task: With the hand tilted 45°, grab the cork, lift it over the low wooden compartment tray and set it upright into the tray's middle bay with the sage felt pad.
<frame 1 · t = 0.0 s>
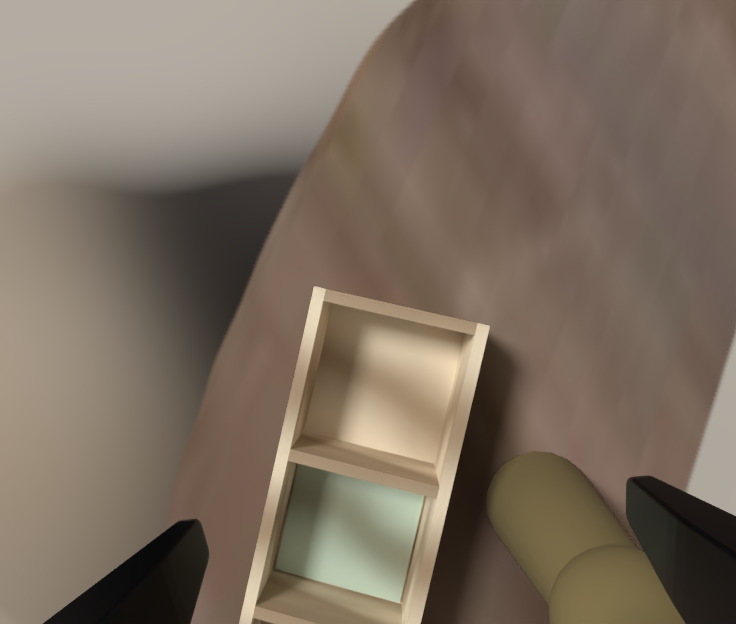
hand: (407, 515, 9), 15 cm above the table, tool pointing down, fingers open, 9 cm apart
cork: (538, 502, 24), on the table
wooden compartment tray: (353, 513, 24), on the table
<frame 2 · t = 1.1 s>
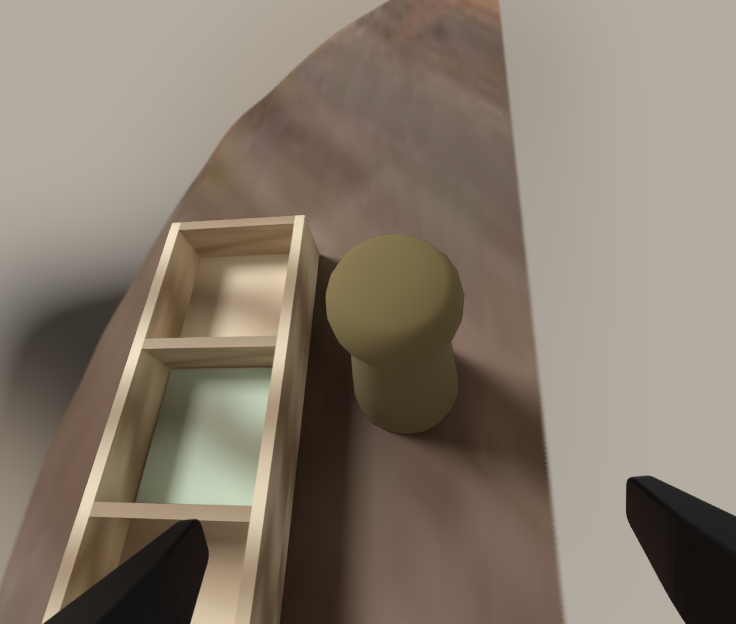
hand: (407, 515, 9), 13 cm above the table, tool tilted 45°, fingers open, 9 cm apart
cork: (405, 381, 24), on the table
wooden compartment tray: (225, 436, 24), on the table
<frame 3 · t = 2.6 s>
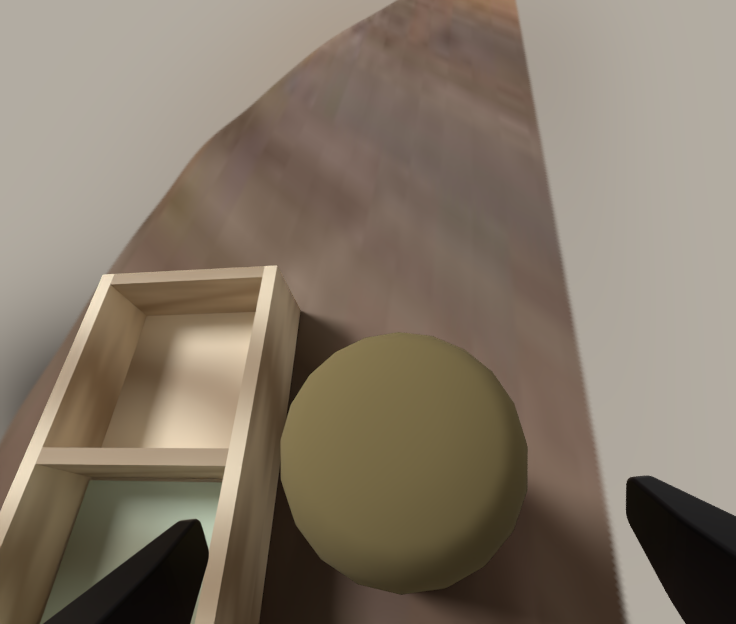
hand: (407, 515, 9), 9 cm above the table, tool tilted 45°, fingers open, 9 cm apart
cork: (414, 500, 17), on the table
wooden compartment tray: (159, 582, 17), on the table
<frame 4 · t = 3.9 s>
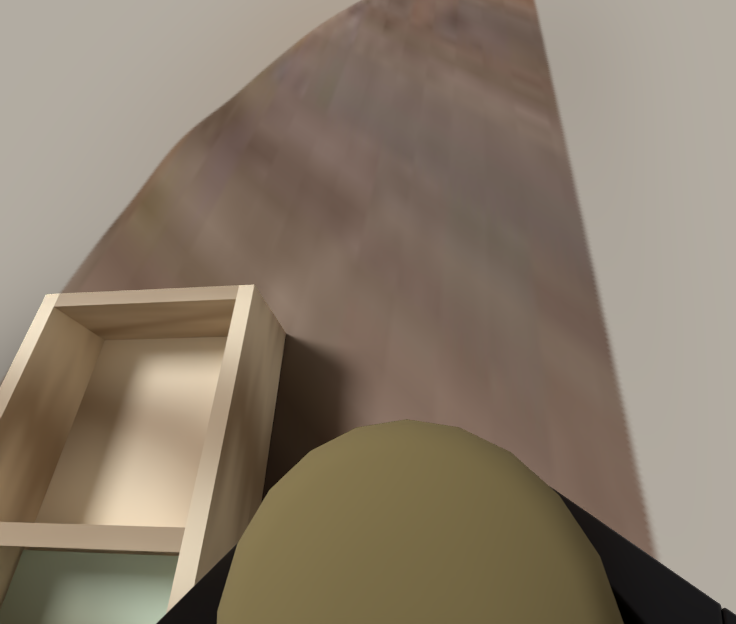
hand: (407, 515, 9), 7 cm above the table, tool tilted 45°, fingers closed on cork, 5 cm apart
cork: (422, 578, 14), on the table, touching gripper
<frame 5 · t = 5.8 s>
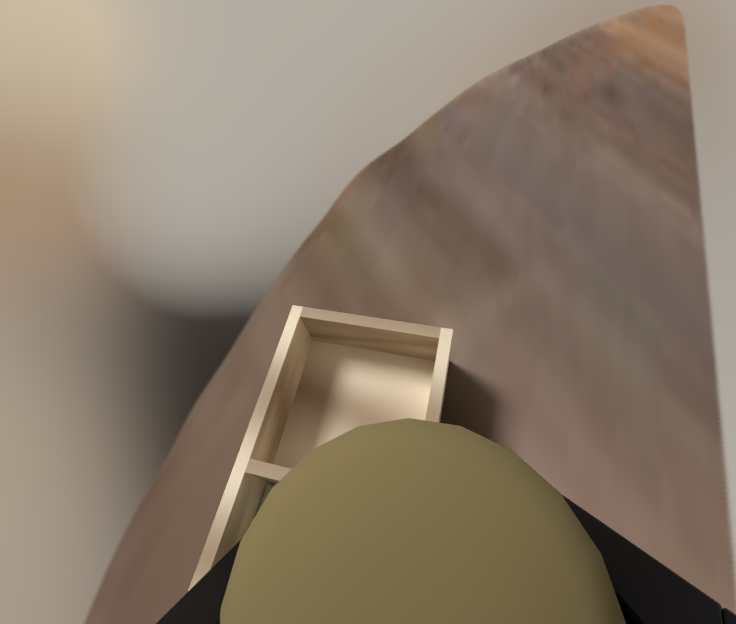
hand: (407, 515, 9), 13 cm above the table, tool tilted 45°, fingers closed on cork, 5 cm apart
cork: (424, 576, 14), point 6 cm above the table, touching gripper
wooden compartment tray: (319, 585, 20), on the table
when the fingers open (9 cm above the table, at t = 7.6 s): cork stays where it is, resting on wooden compartment tray.
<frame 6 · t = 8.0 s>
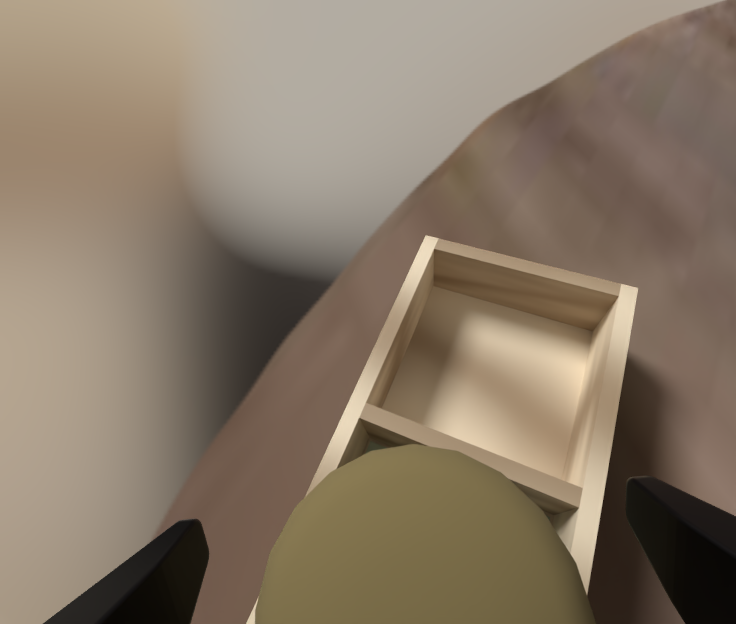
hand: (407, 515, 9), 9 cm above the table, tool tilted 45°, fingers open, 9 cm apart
cork: (424, 580, 15), point 1 cm above the table, touching wooden compartment tray
wooden compartment tray: (422, 574, 16), on the table
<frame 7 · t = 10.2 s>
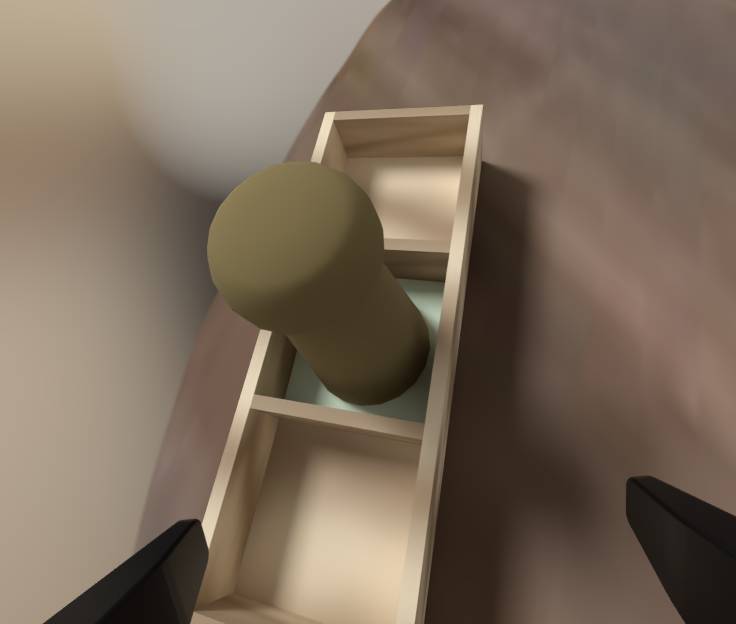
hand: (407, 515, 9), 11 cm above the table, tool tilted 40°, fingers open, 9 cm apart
cork: (370, 345, 21), point 1 cm above the table, touching wooden compartment tray
wooden compartment tray: (372, 349, 22), on the table
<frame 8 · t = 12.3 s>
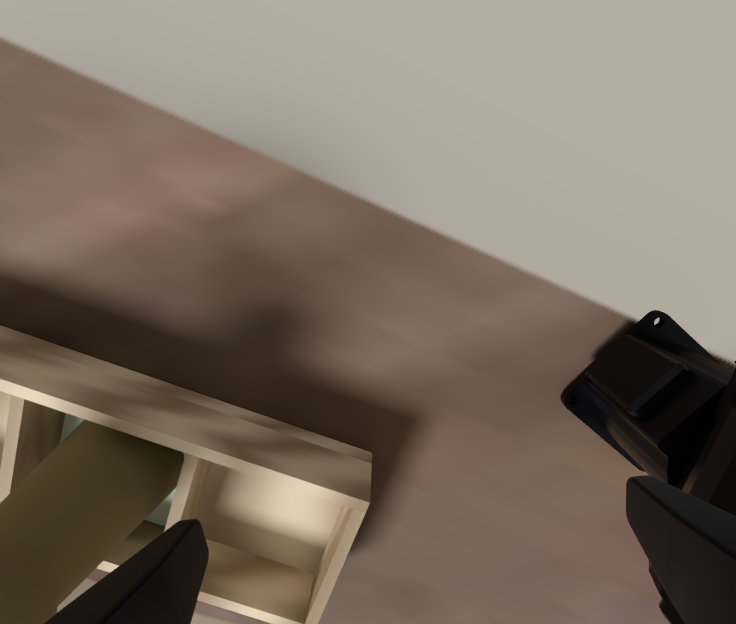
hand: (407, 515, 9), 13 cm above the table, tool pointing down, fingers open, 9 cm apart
cork: (131, 454, 23), point 1 cm above the table, touching wooden compartment tray
wooden compartment tray: (139, 445, 24), on the table
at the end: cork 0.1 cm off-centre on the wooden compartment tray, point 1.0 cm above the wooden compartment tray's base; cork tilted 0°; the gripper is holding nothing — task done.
